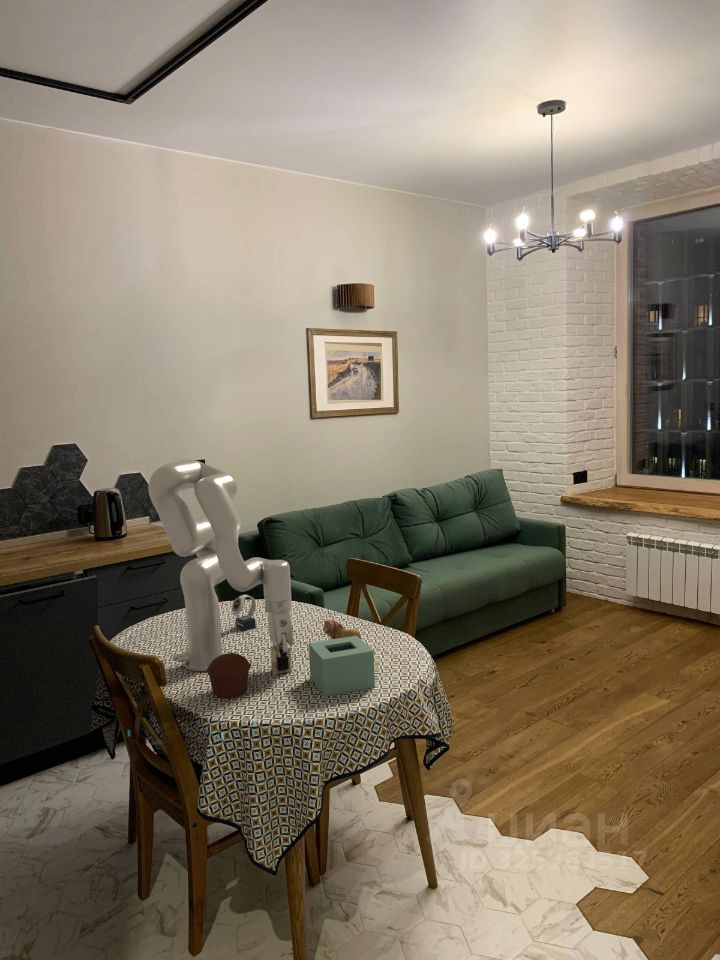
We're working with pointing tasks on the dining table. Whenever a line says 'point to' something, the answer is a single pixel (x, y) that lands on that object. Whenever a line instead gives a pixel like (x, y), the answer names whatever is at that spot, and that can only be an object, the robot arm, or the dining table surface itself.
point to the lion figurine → (338, 630)
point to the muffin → (229, 675)
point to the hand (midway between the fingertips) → (281, 666)
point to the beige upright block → (274, 660)
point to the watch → (244, 621)
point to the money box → (341, 665)
